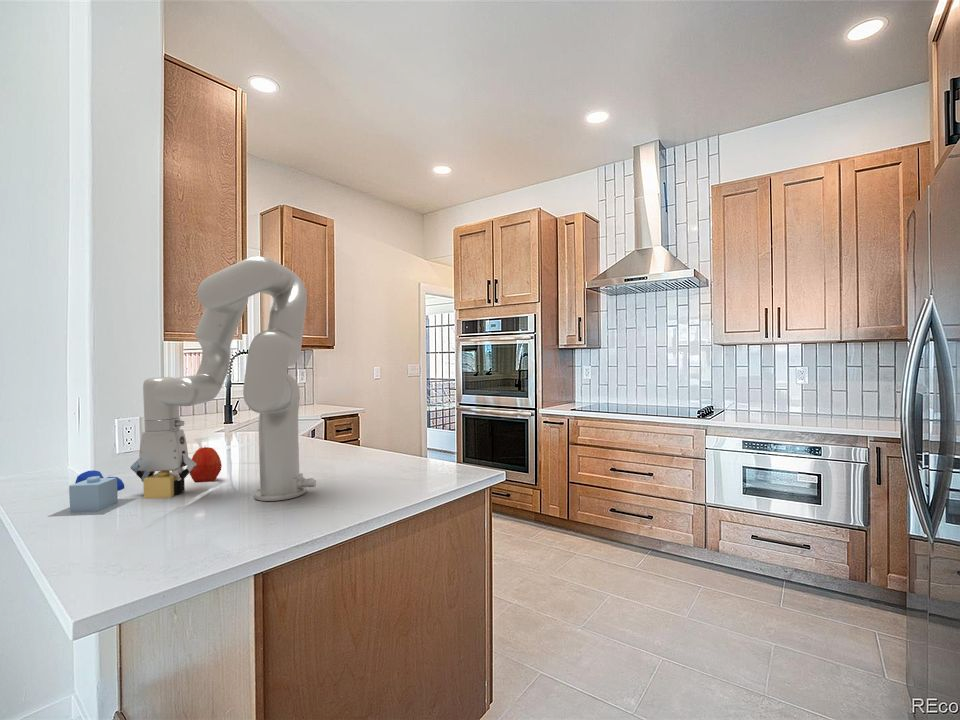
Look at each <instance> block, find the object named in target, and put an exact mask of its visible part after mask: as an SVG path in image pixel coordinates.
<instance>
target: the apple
mask: <svg viewBox="0 0 960 720" xmlns="http://www.w3.org/2000/svg"><path fill="white" fill-rule="evenodd" d="M191 459H192V460H193V461H194V462H195V463H196V466H195V467H194V468H193V469H192V470H191V472H190V473H189V476H190V477H191V479H192V480H193V482H194V483H212V482H214V481H216V480H217V478H218V476H219V474H220V473H221V471H222V466H223V465H222V460H221V456H220V455H219V453H218V452H217V451H216V449H215V448H213V447H209V446H204V447H199V448H198V449H196V451H194V454H193V455H192V457H191Z"/></svg>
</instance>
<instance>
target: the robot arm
mask: <svg viewBox="0 0 960 720" xmlns="http://www.w3.org/2000/svg"><path fill="white" fill-rule="evenodd" d="M259 293H262V294H264V295H265V294H266V295H269V296H271V297H272V299H273V303H272V305H271V308H270V312H269V318H268V319H269V320H268V325H267V329H266V330H262V331H261V332H259V333H257V334H256V335H255V336H254V338H253V339H252V341H251V342H250V344H249V348H248V353H247V358H246V365H245V374H244V380H243V381H244V382H243V388H242V389H243V390H242V391H243V392H242V393H243V401H244V402H245V404H246V406H247V407H248V408H249V409H250V411H253V412H255V413H257V414H259V417H258V454H259V455H258V456H259V459H258V460H259V488H258V489H256V490H255V491H254V492H253V498H254V499H255V500H256V501H260V502H261V501H263V502H275V501H276V502H277V501H284V500H290V499H293V498H294V499H295V498H297V497H300V496H302V495H304V494H305V493H306V492H307V488H315V487H316V486H317V480H316V479H314V477H313V478H311V477H310V478H305V477H304V473H300V447H299V446H300V443H299V442H300V441H299V409H300V397H301V395H300V391H301V390H300V387H299V384H298V382H297V380H296V379H295V378H294V377H293V376H292V375H290V374H288V369H289V368H288V367H291V366H294V365H295V364H296V363H297V362H298V361H299V359H300V358H301V353H302V345H303V338H304V337H303V336H304V330H305V318H306V313H307V312H306V310H307V303H308V301H307V300H308V295H307V289H306V286H305V284H304V282H303V280H302V279H301V278H300V277H299V276H298V275H297V274H296V273H295V272H294V271H292V270H291V269H289V268H288V267H286V266H285V265H283V264H281V263H279V262H277V261H274V260H272V259H270V258H269V257H265V256H260V255H259V256H258V255H257V256H250V257H248V258H245V259H243V260H240V261H238V262H237V263H235V264H232V265H229V266H227V267H225V268H223V269H222V270H219V271H217V272H214V273H213V274H211V275H209V276H207V277H206V278H205V279H203V280H202V281H201V282H200V284H198V288H197V292H196V296H197V300H198V302H199V303H200V305H201V306H202V307H203V308H204V309H203V310H204V311H203V313H202V315H201V318H200V320H199V322H198V324H197V326H196V330H195V333H194V334H195V335H194V336H195V338H196V340H197V342H198V344H199V345H200V347H201V352H202V355H201V356H202V357H201V360H200V365H199V367H198V369H197V372H196V373H195V375H188V376H179V377H173V376H170V377H169V376H167V377H166V376H165V377H164V376H163V377H159V376H158V377H149V378H146V379H145V380H144V381H143V385H142V386H143V387H142V388H143V389H142V392H143V396H142V397H143V416H144V417H143V418H144V419H143V420H144V423H143V424H144V431H143V432H142V433H141V437H140V443H139V450H138V451H139V454H138V455H139V456H138V458H137V460H136V461H135V462H133V464H131V465H130V469H131V471H132V472H134V473H135V474H136V477H138V478H140V480H141V481H140V482H142V483H143V479H145V478H147V477H150V476H152V475H154V474H156V473H155V472H160V471H169V472H173V474H174V476H175V478H176V481H174V497H175V496H178V495H181V494H183V493H184V492H185V479H186V478H187V476H188V475H190V472H191V470H192V469H193V468H194V467H195V466H196V463H195V462H194V461H193V460H192V457H189V451H188V443H187V439H186V435H185V431H184V429H183V428H182V429H180V428H181V426H182V427H183V426H185V420H181V418H180V407H191V406H196V405H200V404H205V403H209V402H210V401H211V402H212V401H213V400H214V399H215V398H216V397H217V396H218V395H219V393H220V391H221V389H222V387H223V385H224V383H225V381H226V377H227V376H228V374H229V373H228V372H229V369H230V362H231V345H232V342H233V340H234V336H235V334H236V332H237V330H238V327H239V324H240V322H241V320H242V318H243V315H244V312H245V310H246V308H247V305H248V301H249V297H252V296H255V295H256V294H259ZM184 467H185V469H184Z"/></svg>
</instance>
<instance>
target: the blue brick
mask: <svg viewBox="0 0 960 720" xmlns="http://www.w3.org/2000/svg"><path fill="white" fill-rule="evenodd" d="M68 494H69V507H70V512H78V511H100V510H102V509H104V508H106V507H108V506H111V505H113V504H115V503H117V502H118V499H119V498H118V497H119V495H118V491H117V478H107V477H104V478H100V476H93V477H89V478H87V480H84V481H81V482H78V483H76V484H75V483H73V484H70V485H68Z"/></svg>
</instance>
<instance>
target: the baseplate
mask: <svg viewBox="0 0 960 720" xmlns="http://www.w3.org/2000/svg"><path fill="white" fill-rule="evenodd" d="M137 499H138V498H136V497H135V498H134V497H133V498H132V497H131V498H118V502H117V503H115V504H113V505H111V506H108V507H106V508H104V509H102V510H100V511H78V512H70V506H69V507H66V508H65V509H62V510H60V511H57V512H55V513H52V514H49V515H47V517H48V518H49V517H50V518H51V517H69V516H70V517H73V516H74V517H75V516H94V515H95V516H97V515H98V516H99V515H102V516H103V515H106V514H107V513H109V512H111V511H113V510H115V509H118V508H120V507H122V506H124V505H126V504H129V503H131V502H132V501H135V500H137Z"/></svg>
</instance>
